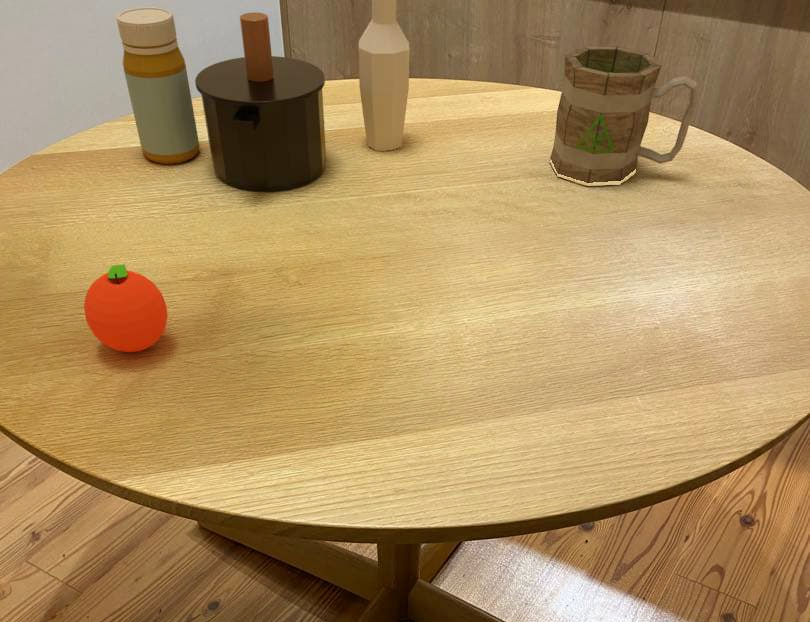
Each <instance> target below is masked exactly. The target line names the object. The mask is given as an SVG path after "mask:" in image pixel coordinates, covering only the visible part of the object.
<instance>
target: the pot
mask: <svg viewBox="0 0 810 622" xmlns="http://www.w3.org/2000/svg"><path fill="white" fill-rule="evenodd" d="M323 95H324V94H323V88H322V89H321V90H320V91H319V92H318V93H316V94H315V95H313V96H311V97H309V98H306V99H304V100H301V101H297V102H293V103H289V104H283V105H276V106H263V107H250V106H236V105H229V104H224V103H220V102H217V101H214V100H211V99H209V98H207V97H205V96H203V95H202V94H201V93H200V96H201V101H202V107H203V114H204V121H205V125H206V132H207V137H208V144H209V151H210V156H211V163H212V166H213V172H214V174H215V176H216V178H217V179H218V180H219V181H220V182H221V183H224V184H225V185H227V186H229V187H232V188H235V189H238V190H242V191H249V192H257V193H258V192H259V193H260V192H261V193H273V192H274V193H275V192H276V193H277V192H283V191H291V190H295V189H298V188H301V187H304V186H307V185H309V184H311V183H313V182H315V181H317V180H318V179H319V178H321V176H322V175H323V174H324V173H325V171H326V166H327V165H326V163H327V148H326V131H325V114H324V113H325V112H324V96H323Z"/></svg>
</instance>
